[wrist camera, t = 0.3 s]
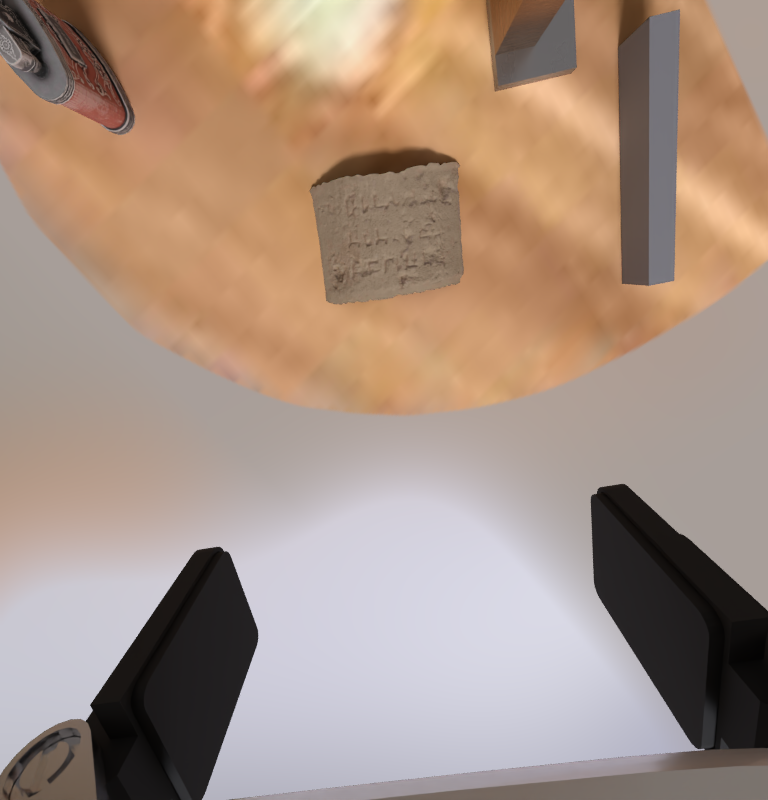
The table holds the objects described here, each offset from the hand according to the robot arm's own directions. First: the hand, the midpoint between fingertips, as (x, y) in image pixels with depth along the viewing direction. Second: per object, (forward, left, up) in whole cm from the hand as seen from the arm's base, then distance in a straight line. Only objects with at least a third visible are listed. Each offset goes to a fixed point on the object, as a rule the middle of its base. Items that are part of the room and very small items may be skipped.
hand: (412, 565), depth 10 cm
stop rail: (-11, +22, -30) cm, 39 cm away
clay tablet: (-10, +1, -31) cm, 33 cm away
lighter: (-26, -20, -31) cm, 44 cm away
